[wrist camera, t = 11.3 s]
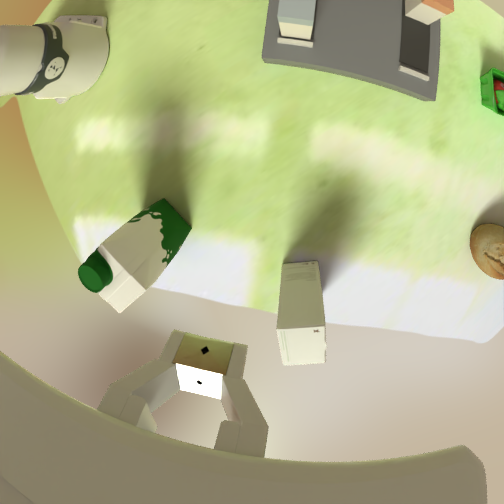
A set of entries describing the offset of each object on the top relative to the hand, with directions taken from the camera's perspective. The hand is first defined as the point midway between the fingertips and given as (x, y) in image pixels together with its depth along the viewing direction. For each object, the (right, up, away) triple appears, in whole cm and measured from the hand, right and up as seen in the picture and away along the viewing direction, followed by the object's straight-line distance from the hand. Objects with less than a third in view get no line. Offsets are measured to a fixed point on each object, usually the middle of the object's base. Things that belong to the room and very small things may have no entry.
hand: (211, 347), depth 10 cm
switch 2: (+24, +36, +10) cm, 44 cm away
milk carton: (-13, +9, +36) cm, 40 cm away
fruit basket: (+43, +29, +15) cm, 54 cm away
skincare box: (+11, -1, +38) cm, 39 cm away
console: (+16, +36, +16) cm, 43 cm away
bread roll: (+48, +6, +28) cm, 55 cm away
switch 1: (+7, +32, +15) cm, 36 cm away
